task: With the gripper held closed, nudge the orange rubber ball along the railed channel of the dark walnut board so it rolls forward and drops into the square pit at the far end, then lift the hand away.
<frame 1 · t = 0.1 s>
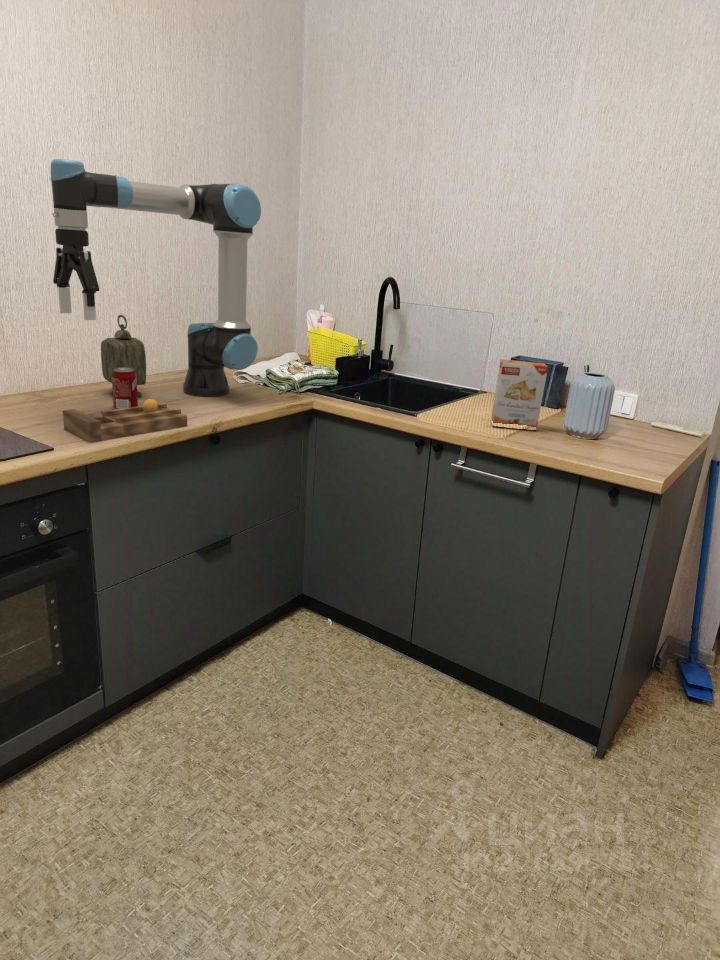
hand: (77, 316, 169), 28 cm above the worktop, fingers open, 13 cm apart
cracker box: (513, 428, 207), on the worktop
board: (127, 427, 175), on the worktop
ball: (150, 406, 179), point 5 cm above the worktop, touching board
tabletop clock: (124, 395, 209), on the worktop
soda can: (125, 410, 192), on the worktop
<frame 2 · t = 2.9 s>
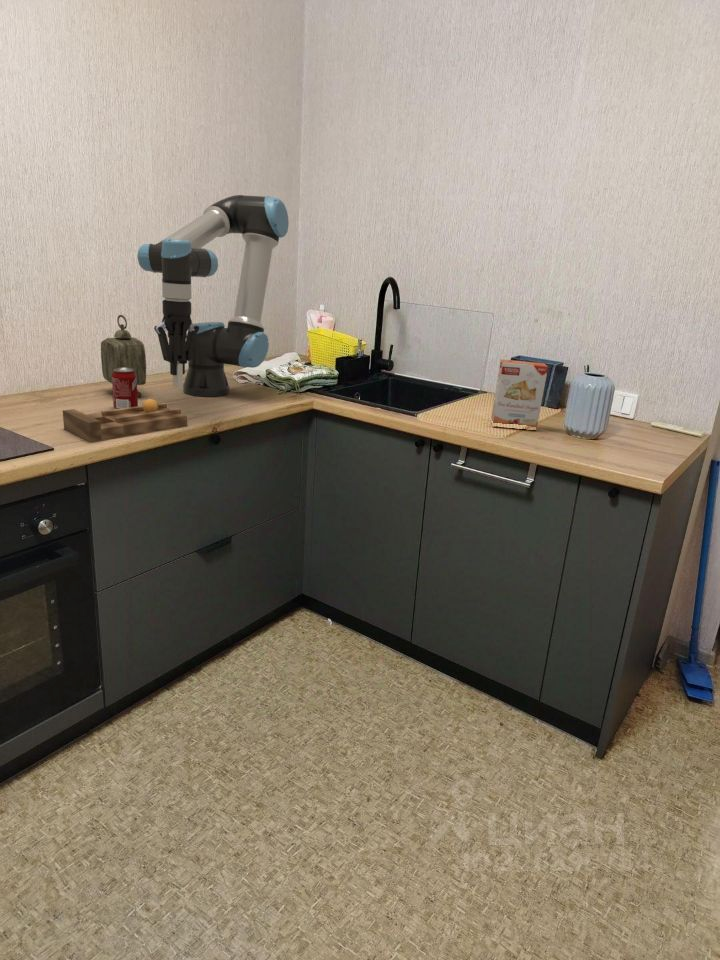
hand: (177, 386, 183), 10 cm above the worktop, fingers closed
nothing on the worktop moved.
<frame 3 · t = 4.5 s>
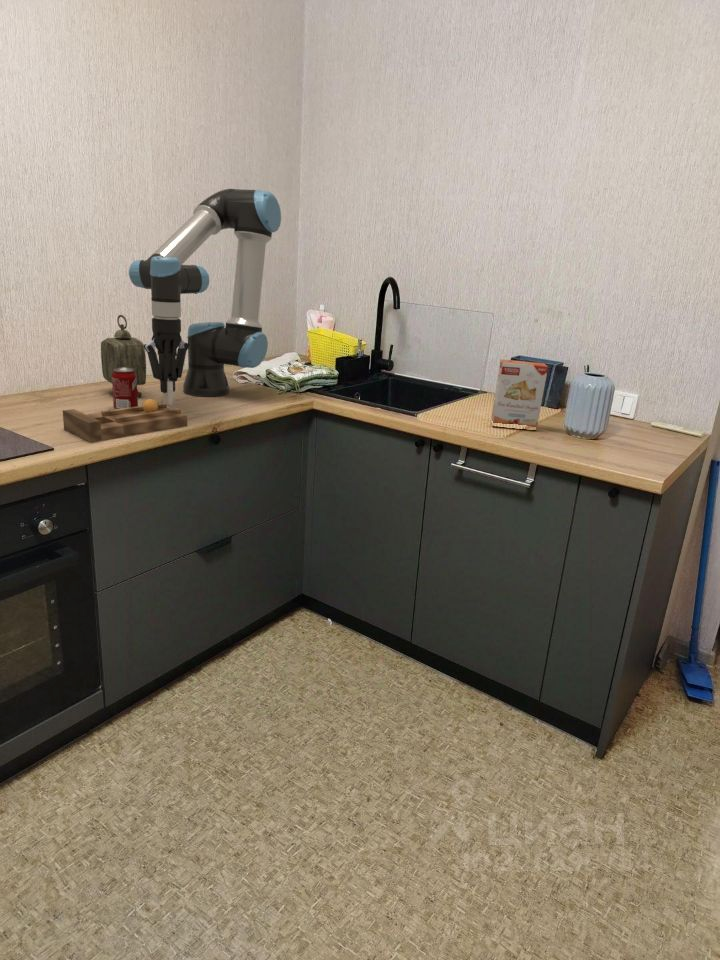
hand: (168, 403, 182), 5 cm above the worktop, fingers closed
nothing on the worktop moved.
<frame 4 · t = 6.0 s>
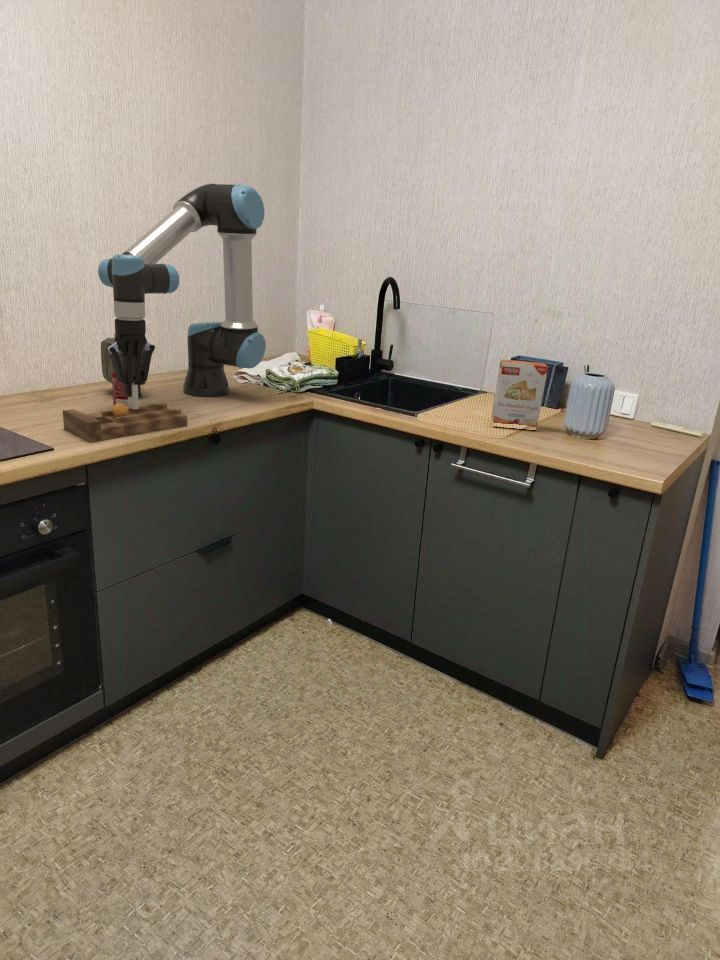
hand: (133, 408, 175), 5 cm above the worktop, fingers closed
ball: (120, 410, 172), point 5 cm above the worktop, tilted 107°, touching board
everything else where it was.
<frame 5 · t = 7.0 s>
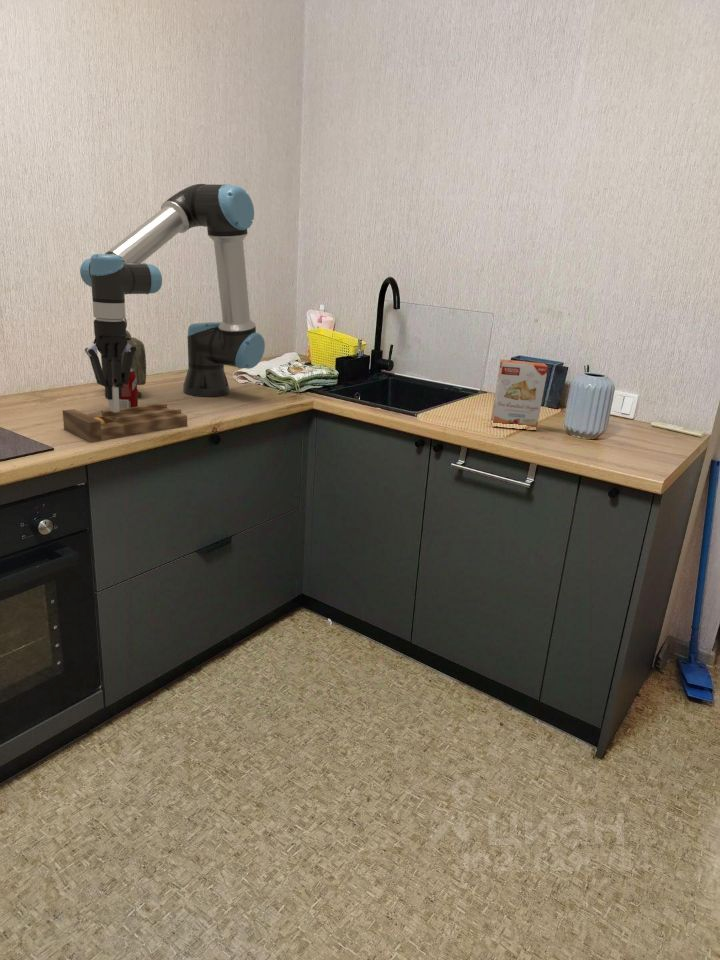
hand: (114, 411, 171), 5 cm above the worktop, fingers closed
ball: (97, 425, 168), point 2 cm above the worktop, tilted 112°
everything else where it was.
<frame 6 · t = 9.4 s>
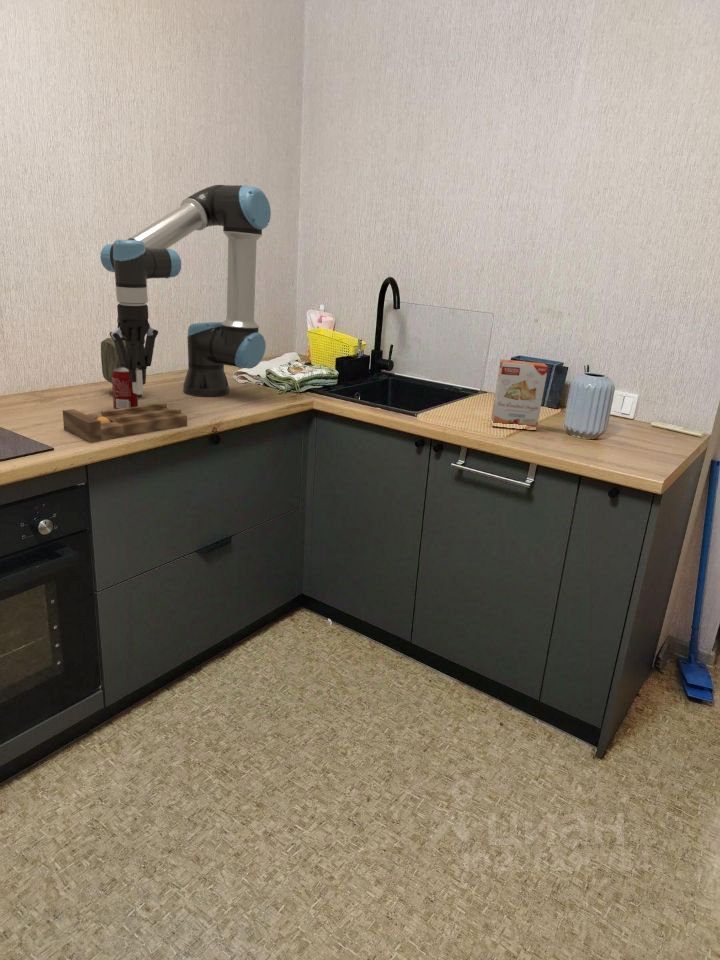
hand: (138, 393, 176), 9 cm above the worktop, fingers closed
ball: (102, 424, 169), point 2 cm above the worktop, tilted 71°
everything else where it was.
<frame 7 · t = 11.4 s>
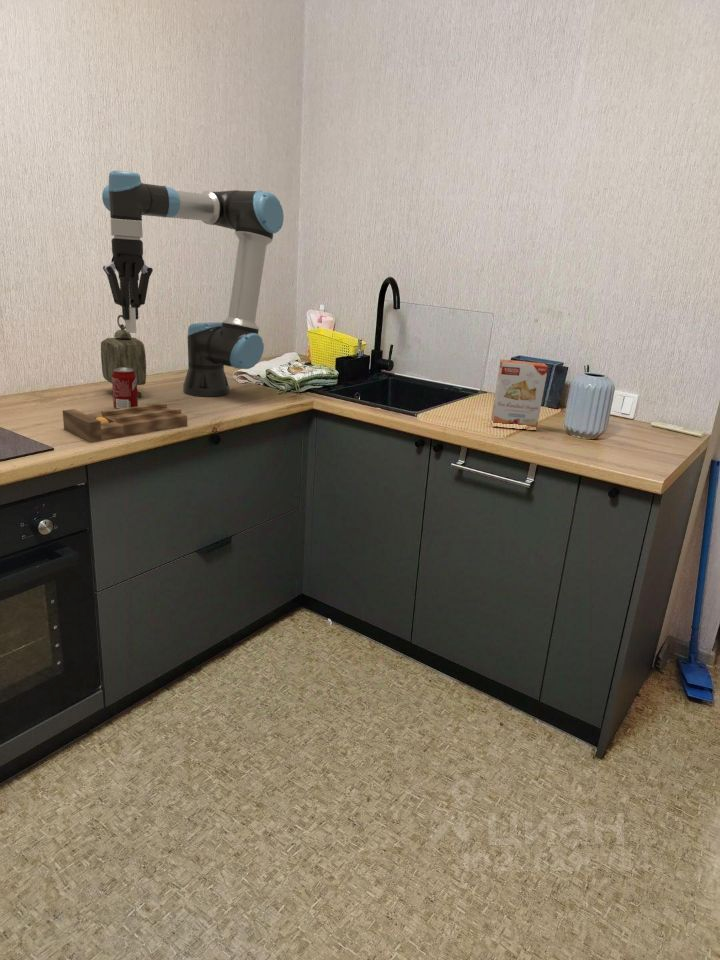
hand: (131, 332, 174), 24 cm above the worktop, fingers closed
ball: (100, 424, 169), point 2 cm above the worktop, tilted 83°
everything else where it was.
at the end: ball 0.5 cm from the target spot on the board, point 2.0 cm above the board's base; the gripper is holding nothing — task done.
